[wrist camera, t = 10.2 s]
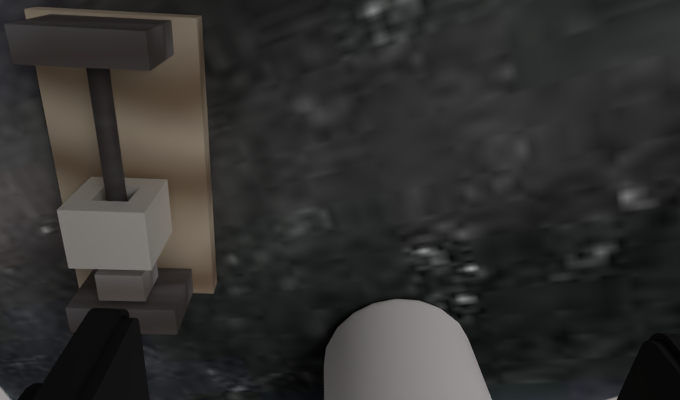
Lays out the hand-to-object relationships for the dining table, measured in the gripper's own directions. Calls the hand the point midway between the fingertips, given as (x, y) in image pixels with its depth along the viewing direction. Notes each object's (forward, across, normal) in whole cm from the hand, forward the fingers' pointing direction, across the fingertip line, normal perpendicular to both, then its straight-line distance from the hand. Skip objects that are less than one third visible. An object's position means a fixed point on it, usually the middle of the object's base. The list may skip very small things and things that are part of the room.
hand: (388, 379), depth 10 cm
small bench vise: (+26, +14, +8) cm, 31 cm away
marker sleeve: (+25, +14, +10) cm, 30 cm away
